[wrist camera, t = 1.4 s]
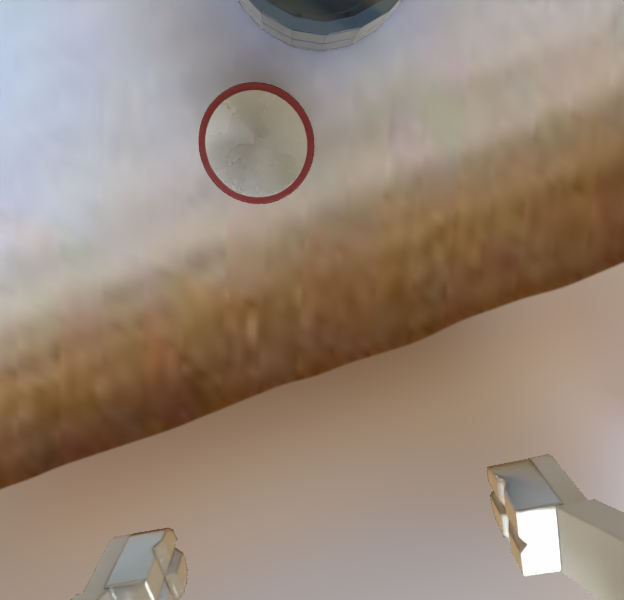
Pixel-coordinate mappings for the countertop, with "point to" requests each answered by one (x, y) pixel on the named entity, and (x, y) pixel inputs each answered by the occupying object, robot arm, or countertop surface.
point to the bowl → (319, 20)
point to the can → (256, 143)
